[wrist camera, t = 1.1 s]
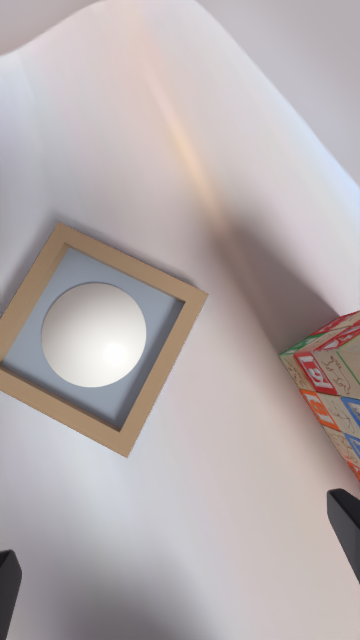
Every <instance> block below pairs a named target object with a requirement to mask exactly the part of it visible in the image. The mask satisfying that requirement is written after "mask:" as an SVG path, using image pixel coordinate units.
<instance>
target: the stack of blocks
mask: <svg viewBox="0 0 360 640" xmlns="http://www.w3.org/2000/svg"><path fill="white" fill-rule="evenodd" d="M279 357H280V359H281V360H282V362H283V364H284V365H285V367H286V368H287V370H288V371H289V373H290V375H291V376H292V378H293V379H294V381H295V382H296V384H297V386H298V387H299V390H300V392H301V394H302V395H303V397H304V398H305V400H306V401H307V403H308V405H309V406H310V408H311V409H312V411H313V412H314V414H315V415H316V417H317V419H318V420H319V422H320V423H321V424H322V426H323V428H324V429H325V431H326V433H327V434H328V436H329V438H330V439H331V441H332V442H333V444H334V445H335V447H336V448H337V450H338V451H339V453H340V455H341V456H342V457H343V459H345V460H346V461H347V462H348V464H349V466H350V467H351V469H352V470H353V472H354V473H355V475H356V476H357V478H358V479H359V481H360V311H357V312H354V313H351V314H347V315H344V316H341V317H339V318H337V319H336V320H334V321H332V322H331V323H329V324H328V325H326V326H324V327H323V328H321V329H320V330H318V331H316V332H315V333H313V334H311V335H310V336H309V337H308V338H306V339H305V340H303V341H301V342H300V343H298V344H296V345H295V346H293V347H292V348H290V349H288V350H287V351H285V352H283V353H282V354H280V355H279Z"/></svg>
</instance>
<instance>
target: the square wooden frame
mask: <svg viewBox="0 0 360 640" xmlns="http://www.w3.org/2000/svg"><path fill="white" fill-rule="evenodd" d="M207 296H208V293H205V292H203V291H201V290H199V289H197V288H195V287H193V286H191V285H189V284H187V283H185V282H183V281H180V280H178V279H176V278H174V277H172V276H170V275H168V274H166V273H164V272H162V271H160V270H158V269H155V268H153V267H151V266H149V265H147V264H145V263H143V262H141V261H139V260H137V259H135V258H133V257H130V256H128V255H126V254H124V253H122V252H120V251H118V250H116V249H114V248H112V247H110V246H108V245H106V244H103V243H101V242H99V241H97V240H95V239H93V238H91V237H89V236H87V235H85V234H83V233H81V232H78V231H76V230H74V229H72V228H70V227H68V226H66V225H64V224H62V223H60V222H58V223H57V225H56V227H55V228H54V230H53V232H52V233H51V235H50V237H49V239H48V240H47V242H46V244H45V245H44V247H43V249H42V250H41V252H40V254H39V255H38V257H37V259H36V260H35V262H34V264H33V265H32V267H31V269H30V270H29V272H28V274H27V275H26V277H25V279H24V280H23V282H22V284H21V285H20V287H19V289H18V290H17V292H16V294H15V295H14V297H13V299H12V300H11V302H10V304H9V305H8V307H7V309H6V310H5V312H4V314H3V315H2V317H1V319H0V390H1V391H2V392H4V393H6V394H8V395H10V396H12V397H14V398H16V399H17V400H19V401H21V402H23V403H25V404H27V405H29V406H30V407H32V408H34V409H36V410H38V411H40V412H42V413H44V414H45V415H47V416H49V417H51V418H53V419H55V420H57V421H59V422H60V423H62V424H64V425H66V426H68V427H70V428H72V429H73V430H75V431H77V432H79V433H81V434H83V435H85V436H87V437H88V438H90V439H92V440H94V441H96V442H98V443H100V444H102V445H103V446H105V447H107V448H109V449H111V450H113V451H115V452H117V453H118V454H120V455H122V456H124V457H126V458H128V456H129V454H130V452H131V450H132V449H133V447H134V445H135V442H136V440H137V438H138V436H139V434H140V432H141V430H142V428H143V426H144V424H145V422H146V420H147V418H148V416H149V414H150V412H151V410H152V408H153V406H154V404H155V402H156V400H157V398H158V396H159V394H160V392H161V390H162V388H163V386H164V384H165V382H166V380H167V378H168V376H169V374H170V372H171V370H172V368H173V366H174V364H175V362H176V360H177V357H178V355H179V353H180V351H181V349H182V347H183V345H184V343H185V341H186V339H187V337H188V335H189V333H190V331H191V329H192V327H193V325H194V323H195V321H196V319H197V317H198V315H199V313H200V311H201V309H202V307H203V305H204V303H205V301H206V299H207Z"/></svg>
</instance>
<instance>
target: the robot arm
mask: <svg viewBox="0 0 360 640" xmlns="http://www.w3.org/2000/svg"><path fill="white" fill-rule="evenodd" d="M327 514H328V518H329V521H330V523H331V525H332V527H333V529H334V531H335V534H336V536H337V538H338V540H339V542H340V544H341V546H342V548H343V550H344V552H345V554H346V557H347V559H348V561H349V563H350V565H351V567H352V569H353V571H354V573H355V575H356V577H357V579H358V581H359V583H360V500H358V499H357V498H356V497H354V496H353V495H351V494H350V493H348V492H347V491H345V490H344V489H341V488H338V489H333V490H329V491H327ZM21 579H22V570H21V567H20V565H19V562H18V560H17V557H16V555H15V552H14V551H13V550H11V549H9V550H4V551H0V640H6V637H7V634H8V630H9V626H10V622H11V618H12V614H13V610H14V607H15V603H16V599H17V595H18V591H19V587H20V583H21Z"/></svg>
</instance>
